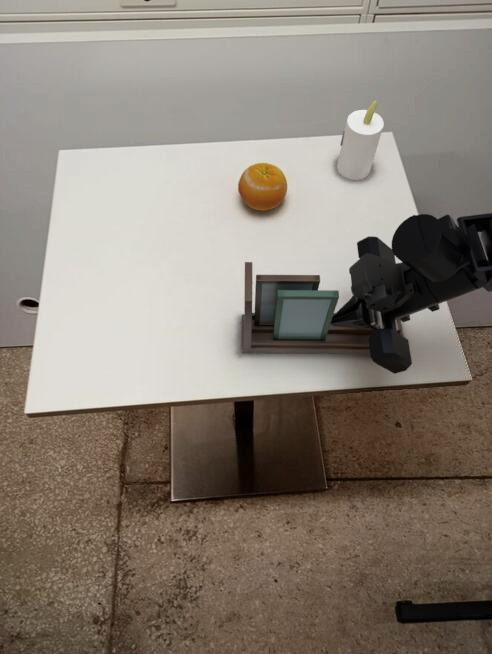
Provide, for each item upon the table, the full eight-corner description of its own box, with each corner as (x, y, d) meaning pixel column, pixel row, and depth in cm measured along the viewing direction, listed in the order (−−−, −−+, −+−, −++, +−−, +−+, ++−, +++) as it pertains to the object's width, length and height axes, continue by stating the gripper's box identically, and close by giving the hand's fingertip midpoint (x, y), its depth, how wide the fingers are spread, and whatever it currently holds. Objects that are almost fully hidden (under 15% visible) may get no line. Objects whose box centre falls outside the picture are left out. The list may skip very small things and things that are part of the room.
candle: (338, 153, 98) (354, 83, 84) (372, 159, 97) (392, 90, 84) (333, 176, 95) (348, 108, 81) (367, 182, 94) (388, 115, 81)
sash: (324, 335, 77) (338, 290, 65) (325, 341, 76) (339, 296, 65) (272, 335, 77) (277, 289, 65) (272, 340, 76) (277, 296, 65)
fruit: (299, 173, 90) (277, 151, 84) (288, 218, 89) (265, 199, 83) (260, 175, 95) (237, 154, 89) (250, 218, 94) (225, 200, 88)
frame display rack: (397, 320, 80) (429, 263, 66) (402, 354, 77) (437, 302, 64) (241, 318, 80) (241, 261, 66) (241, 352, 77) (240, 300, 64)
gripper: (390, 192, 62) (293, 246, 72) (412, 325, 53) (298, 366, 63) (432, 233, 69) (339, 277, 79) (458, 356, 60) (349, 389, 70)
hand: (331, 322), depth 72 cm, fingers closed
